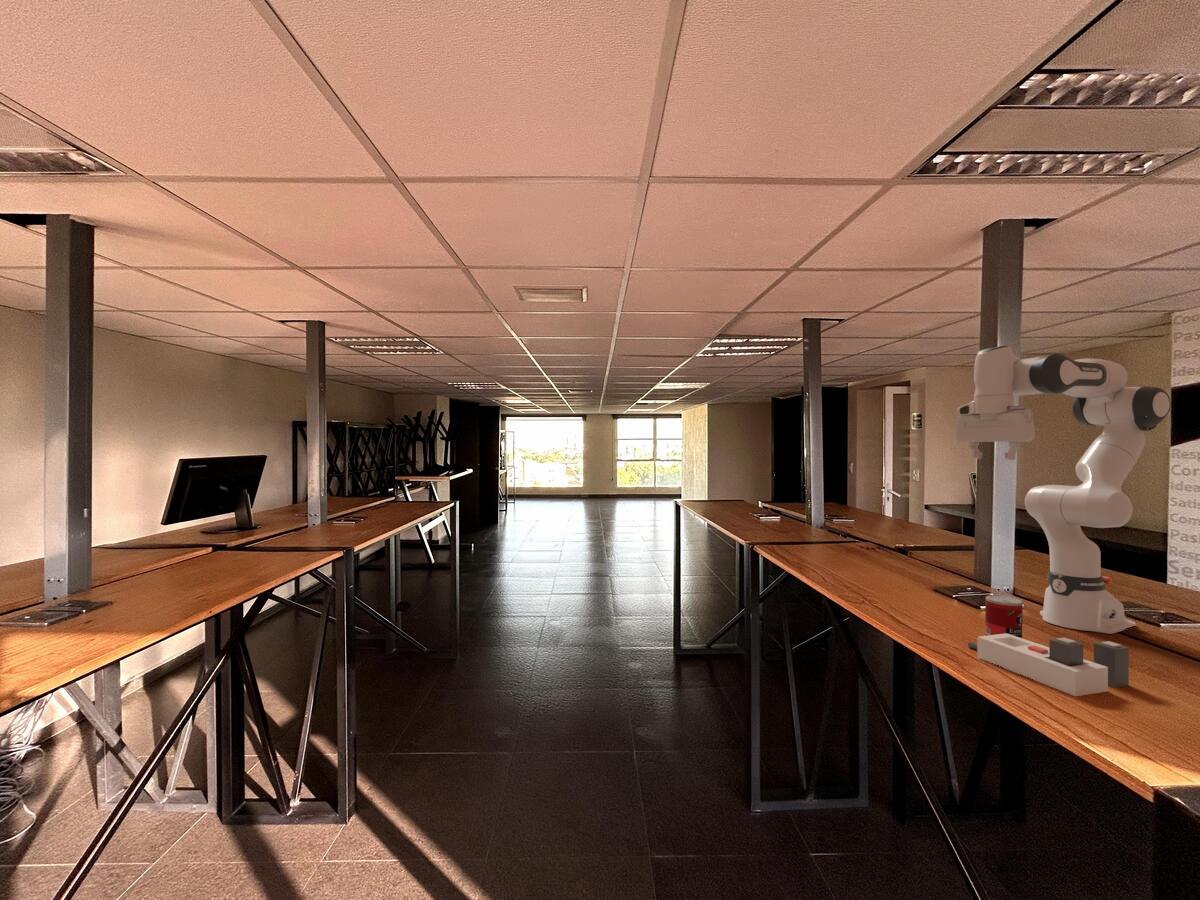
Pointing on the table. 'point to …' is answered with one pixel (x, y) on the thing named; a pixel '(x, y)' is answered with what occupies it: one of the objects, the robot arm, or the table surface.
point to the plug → (1113, 662)
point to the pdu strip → (1045, 662)
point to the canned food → (1003, 615)
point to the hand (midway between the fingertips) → (993, 459)
